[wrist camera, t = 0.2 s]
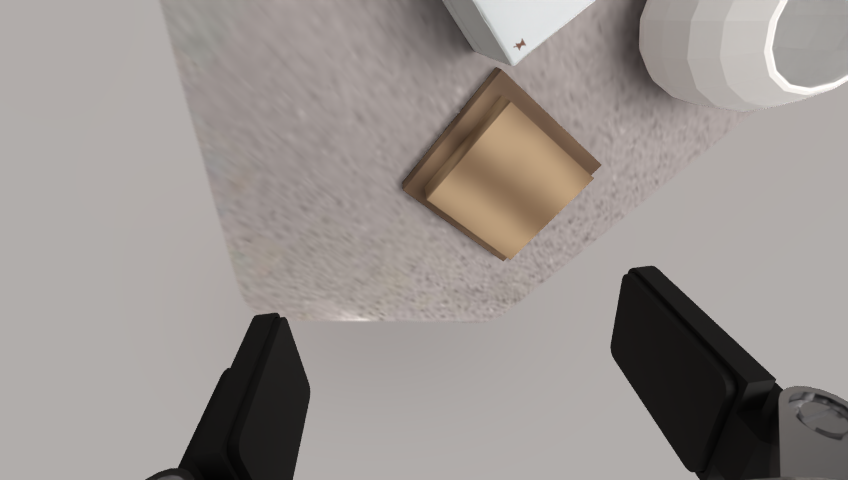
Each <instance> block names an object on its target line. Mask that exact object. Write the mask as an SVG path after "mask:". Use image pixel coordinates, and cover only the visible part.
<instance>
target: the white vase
mask: <svg viewBox="0 0 848 480" xmlns="http://www.w3.org/2000/svg"><path fill="white" fill-rule="evenodd" d="M639 50H640V53H641V55H642V58H643V61H644V63H645V66H646V68H647V71H648V73H649V74H650V76H651V78H652V80H653V81H654V82H655V83H656V84H658V85H659V86H660V87H661V88H662V89H664V90H665V91H666V92H667V93H668V94H669V95H671V96H672V97H674V98H677V99H680V100H683V101H686V102H689V103H692V104H697V105H703V106H708V107H714V108H719V109H726V110H734V111H741V112H749V111H754V110H760V109H765V108H770V107H775V106H779V105H784V104H787V103H792V102H796V101H800V100H804V99H807V98H809V97H812V96H815V95H818V94H821V93H823V92H826V91H829V90H831V89H834V88H836V87H837V86H839V85H841V84H842V83H844V82H846V81H848V0H647V2H646V5H645V7H644V10H643V13H642V15H641V18H640V31H639Z"/></svg>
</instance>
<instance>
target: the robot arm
mask: <svg viewBox="0 0 848 480" xmlns="http://www.w3.org/2000/svg"><path fill="white" fill-rule="evenodd" d="M611 353H612V356H613V358H614V360H615V361H616V363H617V364H618V366H619V367H620V369H621V370H622V372H623V373H624V375H625V377H626V378H627V380H628V381H629V383H630V384H631V386H632V387H633V389H634V390H635V391H636V393H637V394H638V396H639V398H640V399H641V401H642V402H643V404H644V405H645V407H646V408H647V410H648V411H649V413H650V414H651V416H652V417H653V419H654V421H655V422H656V424H657V425H658V426H659V428H660V429H661V431H662V433H663V434H664V436H665V437H666V439H667V440H668V442H669V443H670V445H671V446H672V448H673V449H674V451H675V452H676V454H677V455H678V457H679V458H680V460H681V461H682V463H683V464H684V466H685V467H686V468H687V469H688V470H689V471H690V472H695V473H696V475H697V476H698V478H699V479H700V480H848V402H847V401H845V400H844V399H842V398H840V397H838V396H836V395H834V394H831V393H829V392H826V391H824V390H820V389H816V388H812V387H805V386H794V387H789V388H786V389H785V390H783V389H782V388H781V387H780V386H779V385H778V384H776V383H775V381H776V379H775V378H774V377H773V376H772V375H771V374H770V373H769V372H768V371H767V370H766V369H765V368H764V367H762V366H761V365H760V364H759V363H758V362H757V361H756V360H755V359H754V358H753V357H752V356H751V355H750V354H749V353H747V352H746V351H745V350H744V349H743V348H742V347H741V346H740V345H739V344H738V343H737V342H736V341H735V340H734V339H732V338H731V337H730V336H729V335H728V334H727V333H726V332H725V331H724V330H723V329H722V328H721V327H719V325H717V324H716V323H715V322H714V321H713V320H712V319H711V318H710V317H709V316H708V315H707V314H706V313H705V312H704V311H702V310H701V309H700V308H699V307H698V306H697V305H696V304H695V303H694V302H693V301H692V300H691V299H690V298H689V297H687V296H686V295H685V294H684V293H683V292H682V291H681V290H680V289H679V288H678V287H677V286H676V285H674V284H673V283H672V282H671V281H670V280H669V279H668V278H667V277H666V276H665V275H664V274H663V273H662V272H661V271H660V270H659V269H657V268H656V267H655V266H645V267H637V268H632V269H630V270H629V271H628V274H625V275H624V276H623V278H622V283H621V289H620V294H619V300H618V306H617V312H616V317H615V323H614V329H613V335H612V340H611ZM309 399H310V386H309V382H308V380H307V376H306V374H305V371H304V368H303V365H302V362H301V359H300V356H299V353H298V350H297V347H296V344H295V341H294V339H293V336H292V333H291V330H290V327H289V324H288V321H287V319H286V318H285V317H281V318H280V316H279V314H278V313H270V314H262V315H256V316H254V318H253V319H252V322H251V324H250V326H249V328H248V330H247V332H246V335H245V337H244V339H243V342H242V344H241V346H240V348H239V350H238V352H237V354H236V357H235V359H234V361H233V363H232V366H231V368H227V369H226V370H225V371H224V372H223V374H222V375H221V377H220V379H219V381H218V384H217V386H216V388H215V390H214V392H213V394H212V396H211V398H210V400H209V403H208V405H207V407H206V409H205V411H204V413H203V415H202V418H201V420H200V422H199V424H198V426H197V428H196V430H195V432H194V434H193V437H192V439H191V441H190V443H189V445H188V447H187V449H186V451H185V454H184V456H183V458H182V460H181V462H180V464H179V466H178V468H171V469H167V470H164V471H161V472H158V473H156V474H154V475H153V476H151V477H149V478H147V479H146V480H293V476H294V471H295V466H296V462H297V457H298V451H299V447H300V442H301V437H302V433H303V428H304V423H305V418H306V413H307V409H308V404H309Z"/></svg>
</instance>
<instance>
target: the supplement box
mask: <svg viewBox="0 0 848 480" xmlns="http://www.w3.org/2000/svg"><path fill="white" fill-rule="evenodd" d="M442 1H443V3H444V5H445V6H446V8H447V9H448V11H449V13H450V14H451V16H452V17H453V19H454V20H455V22H456V23H457V25H458V26H459V28H460V30H461V31H462V33H463V34H464V36H465V37H466V39H467V40H468V42H469V44H470V45H471V47H472V48H473V50H474V51H475V52H477V53H480V54H482V55H485V56H487V57H490V58H492V59H495V60H497V61H500V62H503V63H505V64H508V65H510V66H515V65H516V64H518V63H519V62H520V61H521V60H522V59H524V58H525V57H526V56H527V55H529V54H530V53H531V52H532V51H533V50H535V49H536V48H537V47H538V46H540V45H541V44H542V43H543V42H544V41H546V40H547V39H548V38H549V37H551V36H552V35H553V34H554V33H556V32H557V31H558V30H559V29H560V28H562V27H563V26H564V25H565V24H567V23H568V22H569V21H570V20H571V19H573V18H574V17H575V16H577V15H578V14H579V13H580V12H582V11H583V10H584V9H585V8H587V7H588V6H589V5H590V4H592V3H593V2H594V1H595V0H442Z"/></svg>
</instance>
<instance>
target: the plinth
mask: <svg viewBox="0 0 848 480" xmlns="http://www.w3.org/2000/svg"><path fill="white" fill-rule="evenodd" d="M600 166H601V164H600V163H599V162H598V161H597V160H596V159H595V158H594V157H593V156H592V155H591V154H590V153H589V152H588V151H586V150H585V149H584V148H583V147H582V146H581V145H580V144H579V143H578V142H577V141H576V140H575V139H574V138H573V137H572V136H571V135H570V134H569V133H568V132H567V131H566V130H564V129H563V128H562V127H561V126H560V125H559V124H558V123H557V122H556V121H555V120H554V119H553V118H552V117H551V116H550V115H549V114H548V113H547V112H546V111H545V110H544V109H542V108H541V107H540V106H539V105H538V104H537V103H536V102H535V101H534V100H533V99H532V98H531V97H530V96H529V95H528V94H527V93H526V92H525V91H524V90H523V89H522V88H520V87H519V86H518V85H517V84H516V83H515V82H514V81H513V80H512V79H511V78H510V77H509V76H508V75H507V74H506V73H505V72H504V71H503V70H501V69H499V68H497V67H496V68H495V69H494V71H493V72H492V73H491V74H490V76H489V77H488V78H487V79H486V81H485V82H484V83H483V84H482V85H481V87H480V88H479V89H478V90H477V92H476V93H475V94H474V95H473V97H472V98H471V99H470V100H469V101H468V103H467V104H466V105H465V106H464V108H463V109H462V110H461V111H460V112H459V114H458V115H457V116H456V117H455V119H454V120H453V121H452V122H451V124H450V125H449V126H448V127H447V128H446V130H445V131H444V132H443V133H442V135H441V136H440V137H439V138H438V140H437V141H436V142H435V143H434V144H433V146H432V147H431V148H430V149H429V151H428V152H427V153H426V154H425V156H424V157H423V158H422V159H421V160H420V162H419V163H418V164H417V165H416V167H415V168H414V169H413V170H412V171H411V173H410V174H409V175H408V176H407V178H406V179H405V180H404V181H403V183H402V184H403V191H405V192H406V193H408V194H409V195H410V196H412V197H413V198H415V199H416V200H418V201H419V202H420V203H422V204H423V205H425V206H426V207H427V208H429V209H430V210H432V211H433V212H434V213H436V214H437V215H439V216H440V217H441V218H443V219H444V220H446V221H447V222H448V223H450V224H451V225H453V226H454V227H456V228H457V229H458V230H460V231H461V232H463V233H464V234H465V235H467V236H468V237H470V238H471V239H472V240H474V241H475V242H477V243H478V244H479V245H481V246H482V247H484V248H485V249H486V250H488V251H489V252H491V253H492V254H493V255H495V256H496V257H498V258H499V259H501V260H502V261H504V260H505V259H506V258H509V259H510V260H511V259H512V258H513V257H514V256H515V255H516V254H517V253H518V252H519V251H520V250H521V249H522V248H523V247H524V246H525V245H526V244H527V243H528V242H529V241H530V240H531V239H532V238H533V237H534V236H535V235H536V234H537V233H538V232H539V231H540V230H542V229H543V228H544V227H545V226H546V225H547V224H548V223H549V222H550V221H551V220H552V219H553V218H554V217H555V216H556V215H557V214H558V213H559V212H560V211H561V210H562V209H563V208H564V207H565V206H566V205H567V204H568V203H569V202H570V201H571V200H572V199H573V198H574V197H575V196H576V195H577V194H578V193H579V192H580V191H582V190H583V189H584V188H585V187H586V186H587V185H588V184H589V183H590V182H591V181H592V180H593V179H594V178H593V177H592V176H591V175H592V174H593V173H594V172H595V171H596V170H597V169H598V168H599V167H600Z"/></svg>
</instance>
